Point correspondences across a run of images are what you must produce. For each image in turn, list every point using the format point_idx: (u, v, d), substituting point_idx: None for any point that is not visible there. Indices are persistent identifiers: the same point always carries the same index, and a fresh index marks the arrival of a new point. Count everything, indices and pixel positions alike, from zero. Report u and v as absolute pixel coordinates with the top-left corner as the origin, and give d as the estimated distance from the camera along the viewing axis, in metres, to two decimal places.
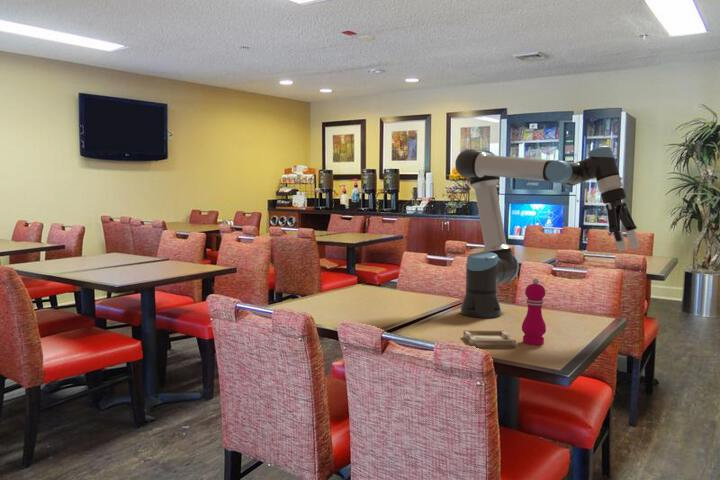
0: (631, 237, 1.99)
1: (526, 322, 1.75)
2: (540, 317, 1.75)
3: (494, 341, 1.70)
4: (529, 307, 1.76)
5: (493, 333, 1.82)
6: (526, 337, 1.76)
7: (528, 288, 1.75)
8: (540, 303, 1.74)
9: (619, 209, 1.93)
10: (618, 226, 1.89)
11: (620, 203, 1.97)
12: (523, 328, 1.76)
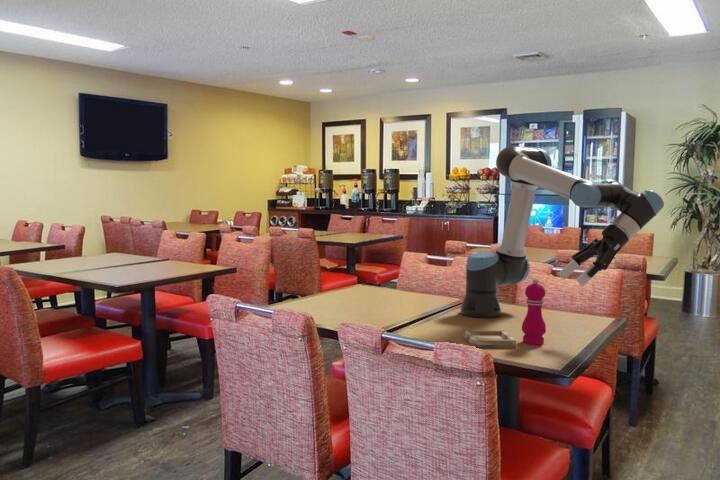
0: (570, 267, 1.83)
1: (526, 322, 1.75)
2: (540, 317, 1.75)
3: (494, 341, 1.70)
4: (529, 307, 1.76)
5: (493, 333, 1.82)
6: (526, 337, 1.76)
7: (528, 288, 1.75)
8: (540, 303, 1.74)
9: None
10: None
11: None
12: (523, 328, 1.76)
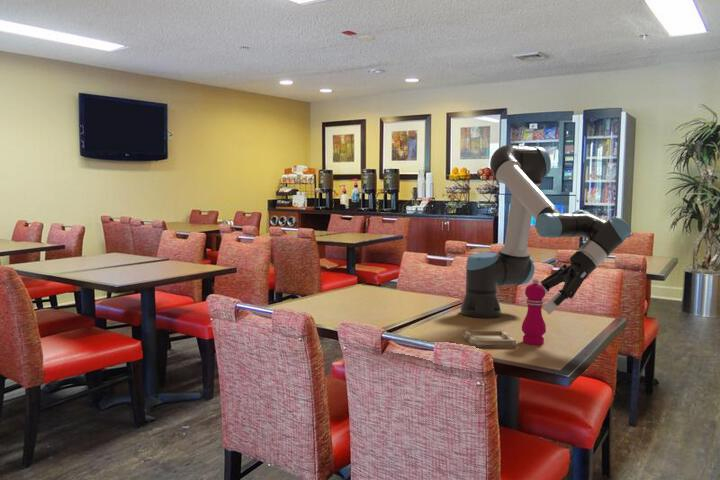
0: None
1: (526, 322, 1.75)
2: (540, 317, 1.75)
3: (494, 341, 1.70)
4: (529, 307, 1.76)
5: (493, 333, 1.82)
6: (526, 337, 1.76)
7: (528, 288, 1.75)
8: (540, 303, 1.74)
9: None
10: None
11: None
12: (523, 328, 1.76)
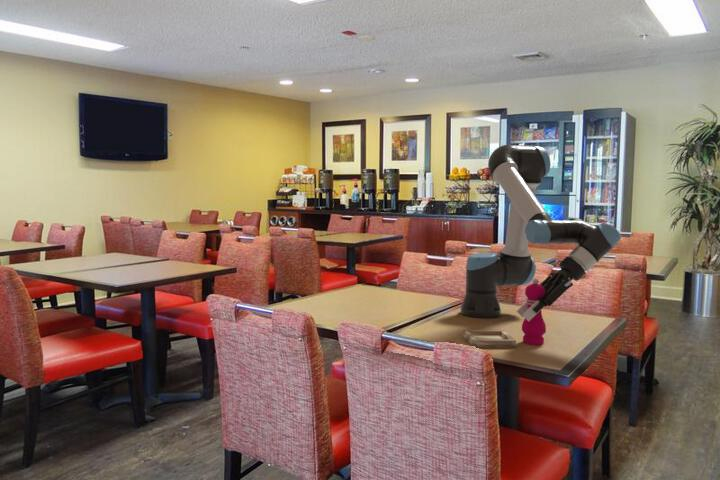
0: None
1: (526, 322, 1.75)
2: (540, 317, 1.75)
3: (494, 341, 1.70)
4: (529, 307, 1.76)
5: (493, 333, 1.82)
6: (526, 337, 1.76)
7: (528, 288, 1.75)
8: None
9: None
10: None
11: None
12: (523, 328, 1.76)
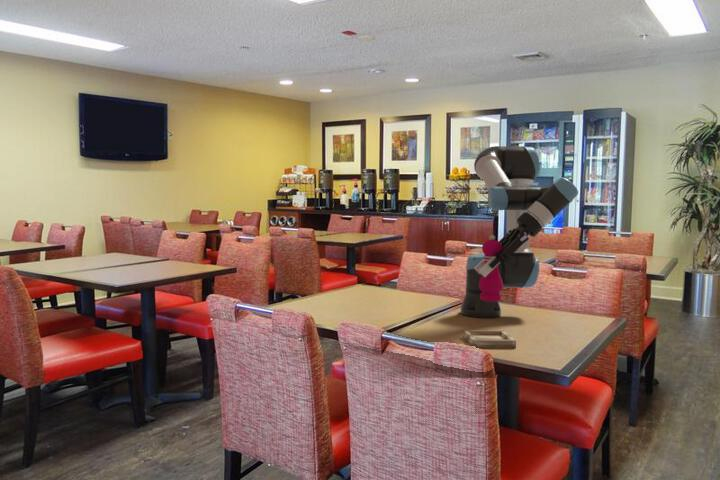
0: None
1: (483, 278, 1.74)
2: (497, 273, 1.73)
3: (494, 341, 1.70)
4: (485, 263, 1.74)
5: (493, 333, 1.82)
6: (483, 294, 1.74)
7: (484, 244, 1.73)
8: None
9: None
10: None
11: None
12: (480, 285, 1.74)
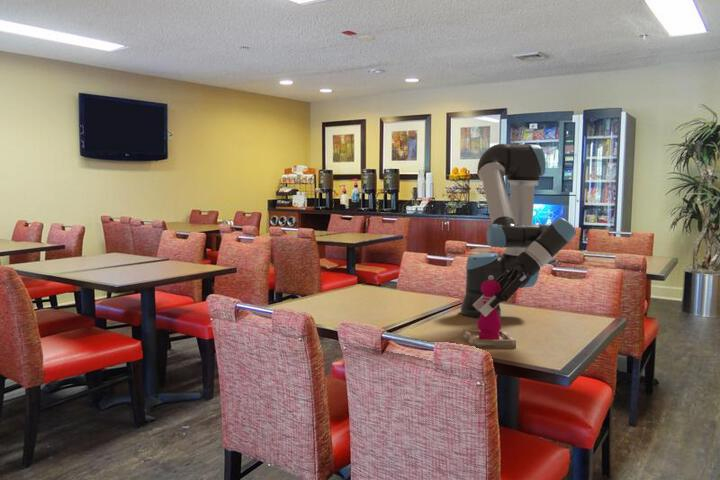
0: None
1: (481, 318, 1.75)
2: (495, 313, 1.74)
3: (494, 341, 1.70)
4: (484, 303, 1.75)
5: None
6: (481, 333, 1.75)
7: (483, 284, 1.74)
8: None
9: None
10: None
11: None
12: (479, 325, 1.75)
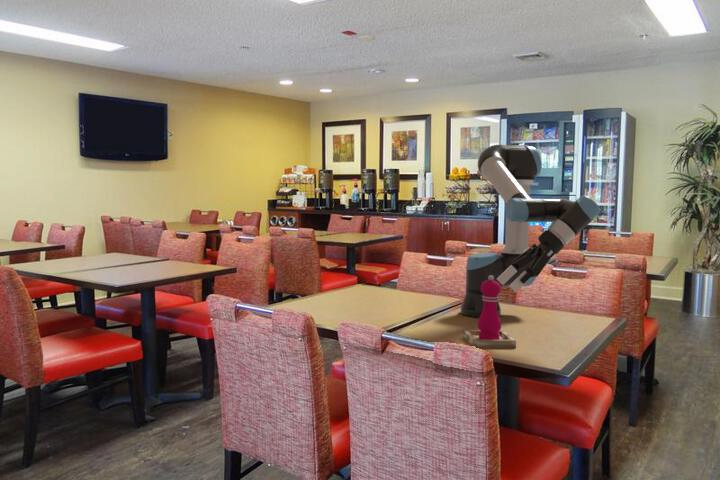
0: (508, 273, 1.82)
1: (481, 318, 1.75)
2: (495, 313, 1.74)
3: (494, 341, 1.70)
4: (484, 303, 1.75)
5: None
6: (481, 333, 1.75)
7: (483, 284, 1.74)
8: (495, 299, 1.74)
9: None
10: None
11: None
12: (479, 325, 1.75)
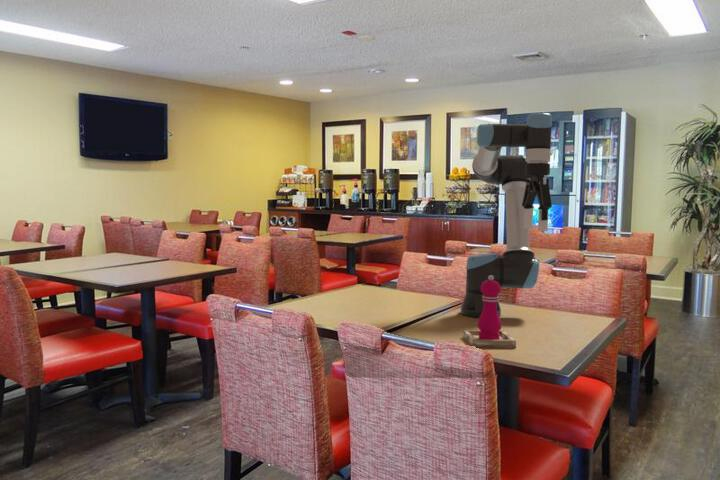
0: (528, 216, 1.89)
1: (481, 318, 1.75)
2: (495, 313, 1.74)
3: (494, 341, 1.70)
4: (484, 303, 1.75)
5: None
6: (481, 333, 1.75)
7: (483, 284, 1.74)
8: (495, 299, 1.74)
9: None
10: None
11: None
12: (479, 325, 1.75)
